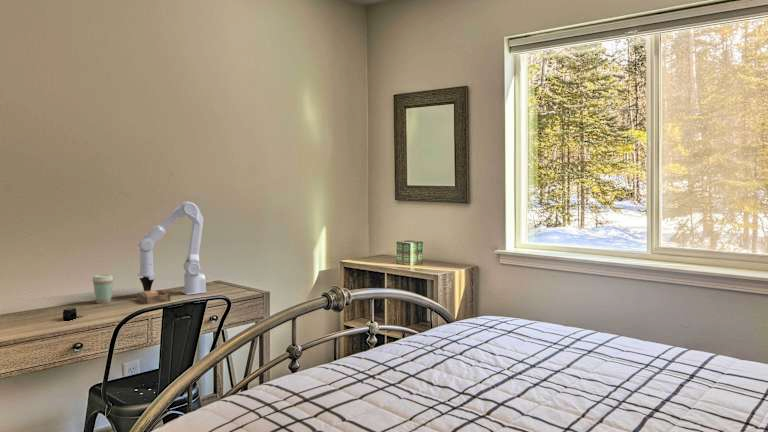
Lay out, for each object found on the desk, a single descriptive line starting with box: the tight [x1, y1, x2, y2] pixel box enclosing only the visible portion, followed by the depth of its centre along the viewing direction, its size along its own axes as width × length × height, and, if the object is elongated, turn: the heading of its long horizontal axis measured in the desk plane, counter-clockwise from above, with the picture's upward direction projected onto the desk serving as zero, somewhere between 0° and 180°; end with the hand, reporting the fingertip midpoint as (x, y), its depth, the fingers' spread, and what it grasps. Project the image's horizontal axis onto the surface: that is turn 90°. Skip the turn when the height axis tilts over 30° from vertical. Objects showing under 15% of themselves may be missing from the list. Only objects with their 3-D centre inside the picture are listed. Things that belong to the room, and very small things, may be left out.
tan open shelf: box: [137, 290, 171, 305], centre depth 271 cm, size 11×11×3 cm
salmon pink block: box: [142, 289, 159, 297], centre depth 275 cm, size 5×6×3 cm
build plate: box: [57, 307, 84, 322], centre depth 237 cm, size 12×7×5 cm, turn 171°
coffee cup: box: [91, 273, 114, 305], centre depth 266 cm, size 9×8×12 cm
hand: (147, 292), depth 278 cm, fingers closed
